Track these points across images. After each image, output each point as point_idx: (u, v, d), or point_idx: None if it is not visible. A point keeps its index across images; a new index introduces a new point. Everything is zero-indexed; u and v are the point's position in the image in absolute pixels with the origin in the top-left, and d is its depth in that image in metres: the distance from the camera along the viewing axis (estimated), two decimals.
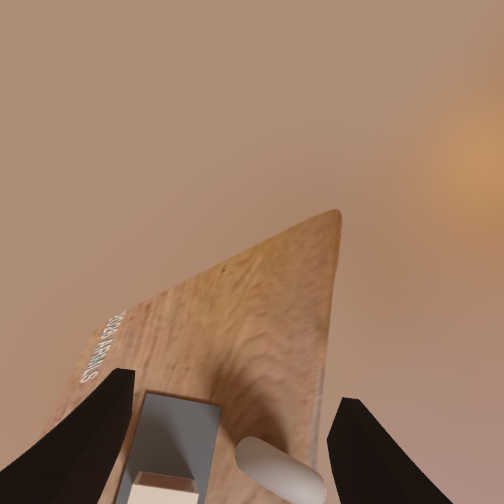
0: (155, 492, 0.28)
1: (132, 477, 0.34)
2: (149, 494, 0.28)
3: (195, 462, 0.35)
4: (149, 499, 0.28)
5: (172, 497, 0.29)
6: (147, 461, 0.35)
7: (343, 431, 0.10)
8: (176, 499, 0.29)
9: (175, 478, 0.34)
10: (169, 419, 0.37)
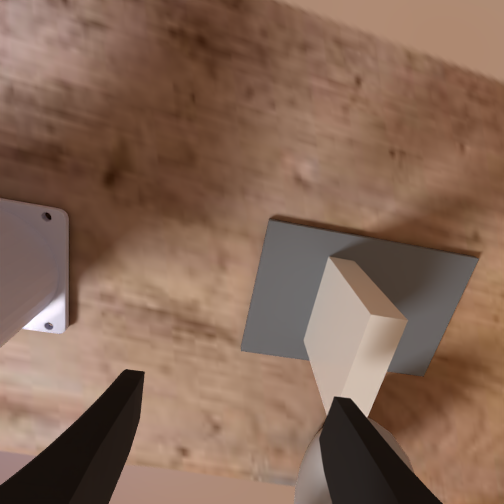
0: (382, 361, 0.14)
1: (345, 251, 0.19)
2: (381, 352, 0.13)
3: None
4: (373, 353, 0.13)
5: (367, 390, 0.14)
6: (365, 272, 0.19)
7: (334, 430, 0.10)
8: (362, 396, 0.14)
9: None
10: (423, 300, 0.20)
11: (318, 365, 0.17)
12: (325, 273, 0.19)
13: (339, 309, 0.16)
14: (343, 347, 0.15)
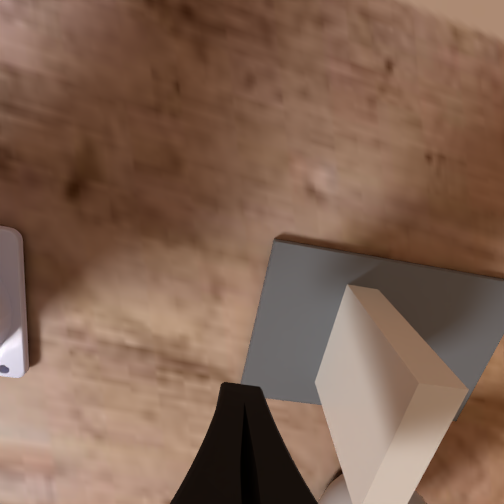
0: (430, 441, 0.10)
1: (368, 278, 0.15)
2: (430, 429, 0.10)
3: None
4: (418, 430, 0.10)
5: (407, 474, 0.11)
6: (391, 303, 0.16)
7: None
8: (400, 482, 0.11)
9: None
10: (460, 335, 0.17)
11: (336, 423, 0.14)
12: (343, 305, 0.15)
13: (366, 358, 0.12)
14: (374, 414, 0.11)
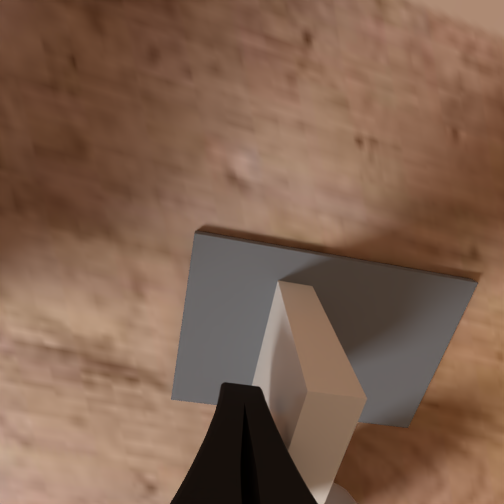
0: (331, 456, 0.09)
1: (300, 273, 0.14)
2: (329, 442, 0.09)
3: None
4: (315, 444, 0.09)
5: None
6: (328, 301, 0.15)
7: None
8: None
9: None
10: (405, 336, 0.15)
11: None
12: (273, 303, 0.14)
13: (281, 362, 0.11)
14: (279, 424, 0.10)
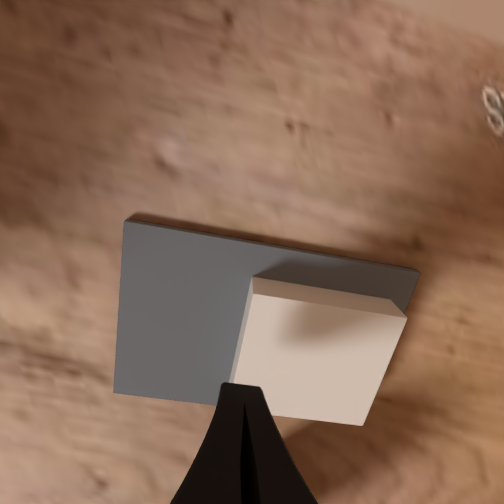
0: None
1: (236, 263, 0.14)
2: None
3: None
4: None
5: None
6: None
7: None
8: None
9: None
10: None
11: (302, 405, 0.15)
12: (256, 316, 0.13)
13: (332, 337, 0.13)
14: (362, 363, 0.14)
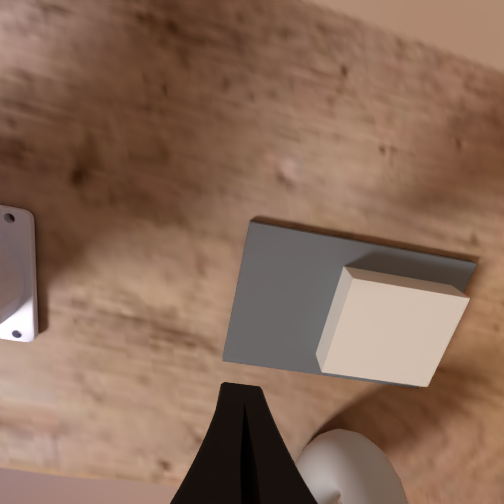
0: None
1: (333, 255, 0.17)
2: None
3: None
4: None
5: None
6: None
7: None
8: None
9: None
10: None
11: (381, 369, 0.18)
12: (353, 296, 0.17)
13: (410, 313, 0.17)
14: (431, 334, 0.18)
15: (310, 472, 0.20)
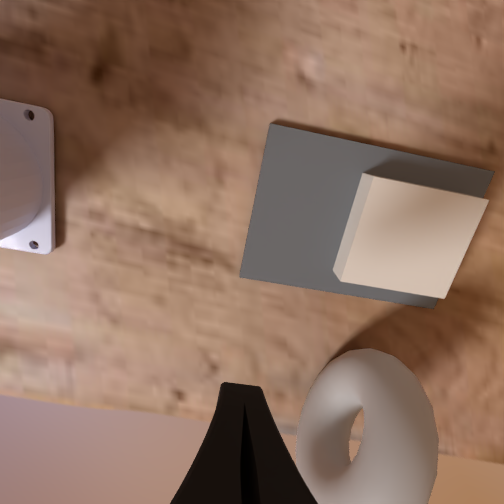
0: None
1: (352, 161, 0.18)
2: None
3: None
4: None
5: None
6: None
7: None
8: None
9: None
10: None
11: (399, 278, 0.18)
12: (373, 196, 0.17)
13: (429, 216, 0.17)
14: (450, 240, 0.18)
15: (327, 390, 0.20)
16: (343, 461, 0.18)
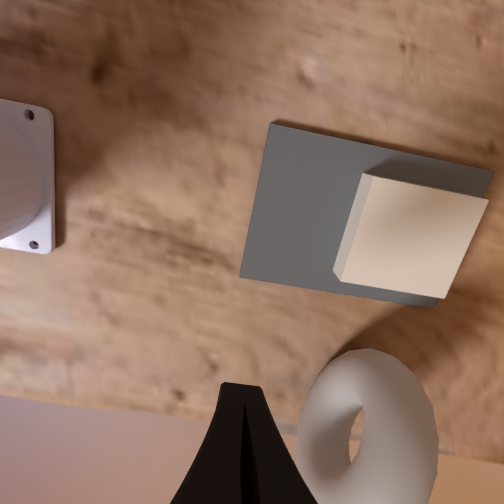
0: None
1: (352, 161, 0.18)
2: None
3: None
4: None
5: None
6: None
7: None
8: None
9: None
10: None
11: (399, 278, 0.18)
12: (373, 196, 0.17)
13: (429, 216, 0.17)
14: (450, 240, 0.18)
15: (327, 390, 0.20)
16: (343, 461, 0.18)
